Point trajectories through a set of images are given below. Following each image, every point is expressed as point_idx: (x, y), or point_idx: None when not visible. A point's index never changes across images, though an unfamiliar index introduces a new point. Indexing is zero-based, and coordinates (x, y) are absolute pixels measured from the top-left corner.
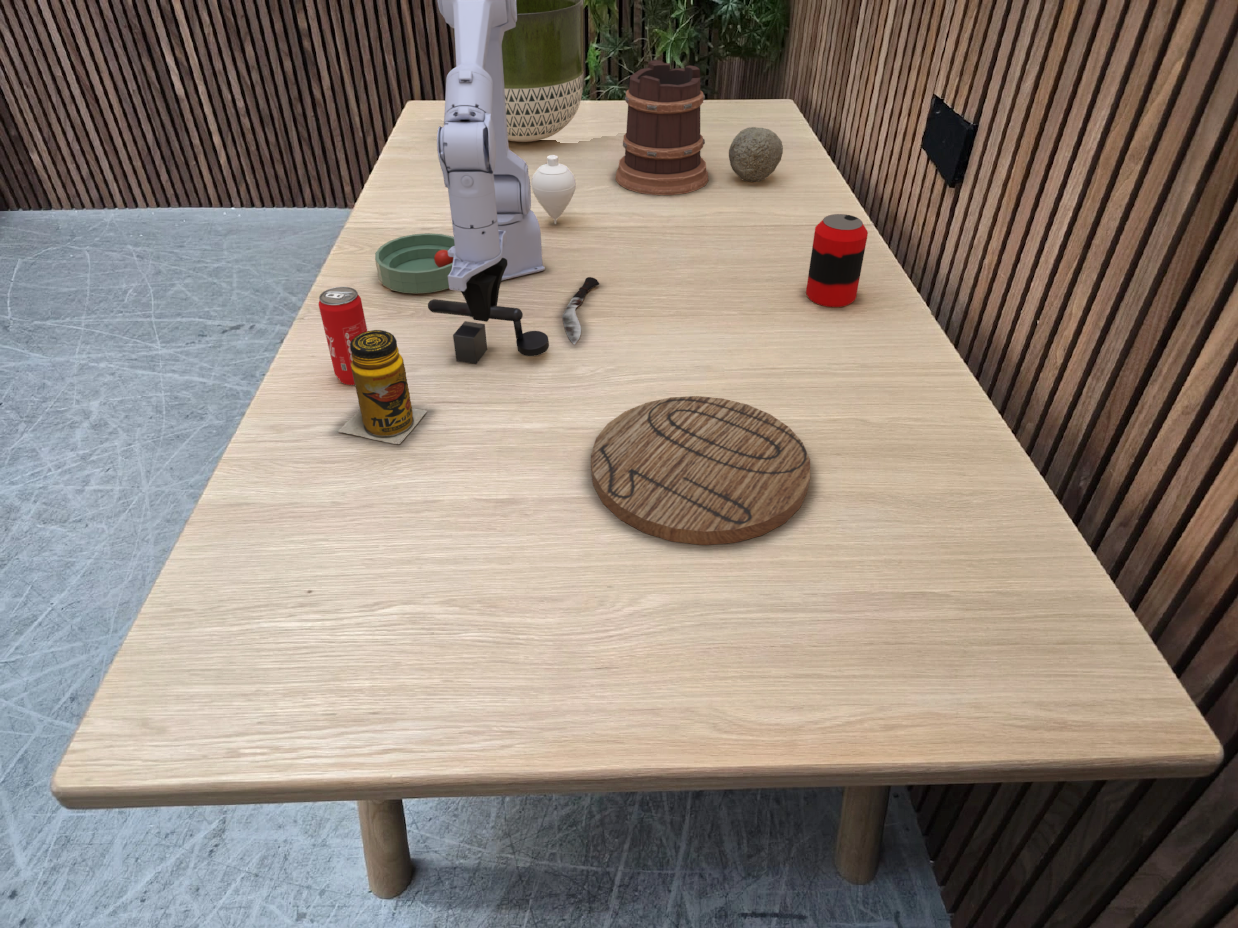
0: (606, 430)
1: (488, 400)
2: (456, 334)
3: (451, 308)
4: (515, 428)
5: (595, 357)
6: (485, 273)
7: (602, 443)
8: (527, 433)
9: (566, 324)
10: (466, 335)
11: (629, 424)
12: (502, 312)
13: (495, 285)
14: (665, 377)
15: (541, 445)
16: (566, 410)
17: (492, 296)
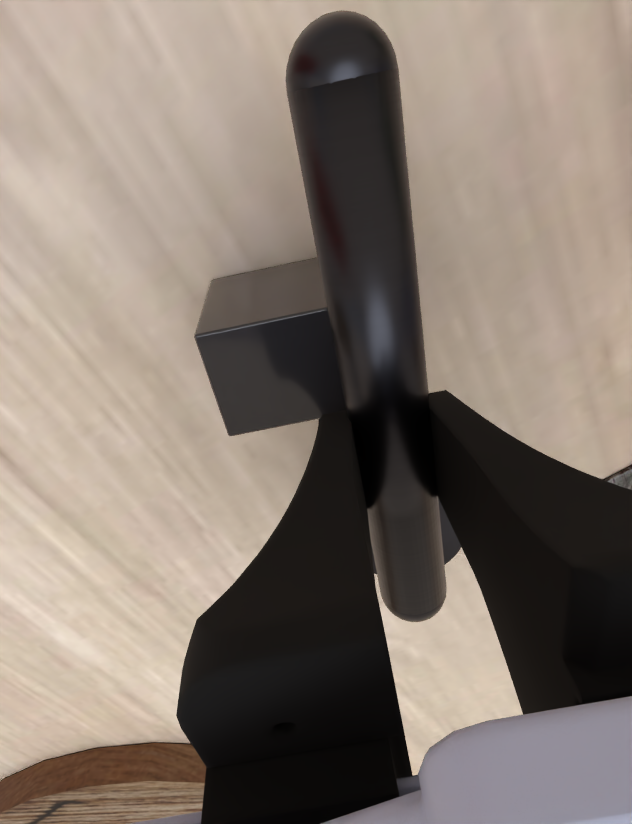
0: (123, 787)
1: (81, 514)
2: (211, 348)
3: (326, 279)
4: (32, 623)
5: (449, 612)
6: (532, 653)
7: (79, 797)
8: (38, 648)
9: (619, 483)
10: (232, 396)
11: (173, 799)
12: (383, 566)
13: (495, 615)
14: (419, 729)
15: (27, 684)
16: (183, 663)
17: (463, 531)
